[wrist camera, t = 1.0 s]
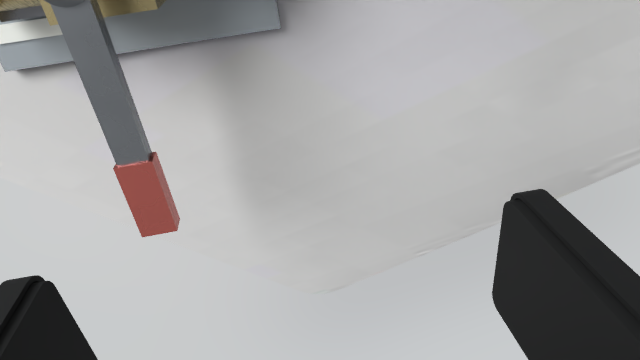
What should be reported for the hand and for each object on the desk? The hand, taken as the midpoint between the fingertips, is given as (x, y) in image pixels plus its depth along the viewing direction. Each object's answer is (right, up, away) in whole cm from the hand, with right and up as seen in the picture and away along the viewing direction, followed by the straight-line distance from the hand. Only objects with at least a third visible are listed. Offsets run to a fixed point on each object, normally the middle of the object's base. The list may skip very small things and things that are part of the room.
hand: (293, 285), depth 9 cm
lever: (-11, +6, +15) cm, 20 cm away
